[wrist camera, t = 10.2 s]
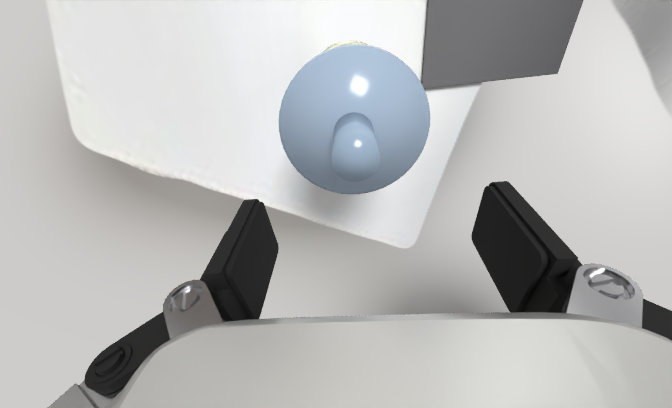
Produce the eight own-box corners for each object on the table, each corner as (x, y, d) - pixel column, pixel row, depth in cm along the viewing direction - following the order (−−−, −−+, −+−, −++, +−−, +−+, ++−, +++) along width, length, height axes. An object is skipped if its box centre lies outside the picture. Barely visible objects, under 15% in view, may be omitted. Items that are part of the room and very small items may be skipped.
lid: (433, 33, 18) (468, 41, 13) (420, 181, 25) (439, 224, 20) (264, 55, 19) (236, 70, 14) (297, 191, 26) (286, 234, 21)
